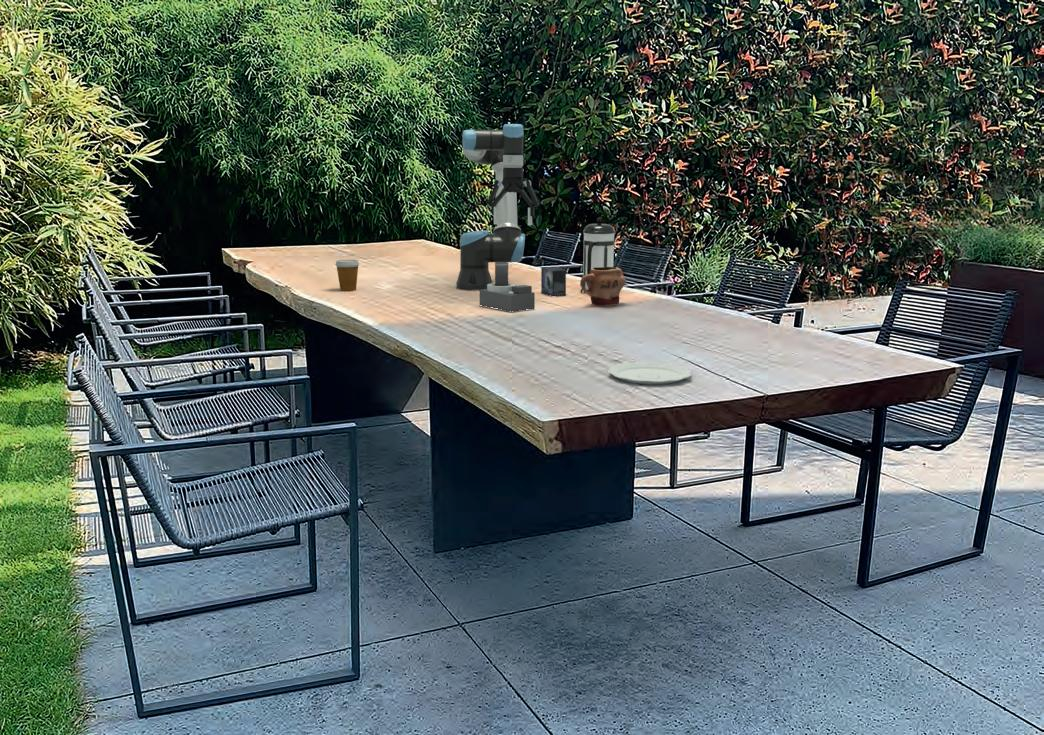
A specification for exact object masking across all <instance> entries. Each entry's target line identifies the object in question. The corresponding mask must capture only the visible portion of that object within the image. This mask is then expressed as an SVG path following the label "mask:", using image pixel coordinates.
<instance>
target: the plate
mask: <svg viewBox="0 0 1044 735" xmlns="http://www.w3.org/2000/svg"><path fill="white" fill-rule="evenodd" d="M607 373H608V374H609V375H612V376H614V377H615V378H618V379H620V380H622V381H625V382H629V383H633V384H640V385H641V384H642V385H665V384H673V383H677V382H679V381H681V380H685V379H688V378H690V377H691V376H692V371H691V369H689V368H686V367H684V366H681V365H678V364H677V365H676V364H670V363H667V362H666V363H665V362H658V361H657V362H655V361H654V362H650V361H635V362H623V363H618V364H616V365H615V364H614V365H611V366H610V367H609V368H608V370H607Z"/></svg>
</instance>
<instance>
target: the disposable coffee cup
mask: <svg viewBox="0 0 1044 735" xmlns="http://www.w3.org/2000/svg"><path fill="white" fill-rule="evenodd" d="M359 266H360V263H359V260H357V259H338V260H336V261H335V267H336V272H337V276H338V283H339V290H340V291H342V292H354V291H355V292H356V291H357V285H358V284H357V283H358V274H359V271H358V270H359Z"/></svg>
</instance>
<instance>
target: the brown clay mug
mask: <svg viewBox="0 0 1044 735" xmlns="http://www.w3.org/2000/svg"><path fill="white" fill-rule="evenodd" d="M586 280H587V287H588V290H587V289H585V288H584V282H585V281H586ZM626 281H627V279H626V278H625V275H624V272H623V270H622V268H619V267H618V266H617V267H614V266H613V267H597V268H592V269H591V270H590V274H587V275H584V276H583V275H582V277H581V279H580V281H579V282H580V284H579V286H580V288H581V289H583V291H582V292H585V293H584V294H586V295H587V296H589V298H590V302H591V304H592V305H593V304H594V306H599V307H606V306H607V307H608V306H617V305H619V304H620V292H621V291H622V289H623V288H624V287H625V285H626Z"/></svg>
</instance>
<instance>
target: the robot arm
mask: <svg viewBox="0 0 1044 735" xmlns="http://www.w3.org/2000/svg"><path fill="white" fill-rule="evenodd" d="M524 134H525V133H524V125H523V124H520V123H507V124H506V123H505V124H504V125H503V126H502V129H465V130H463V131H462V152H463V155H464V156H465V158H466V159H468V160H469V161H470V162H473V163H476V164H479V165H490V166H491V170H492V171H493V172H494V174H495V180H494V185H493V188H492V190H491V193H490V194H489V196H488V199H487V201H486V205H489V207H491V209H490V211H491V216H493V225H496V226H495V227H494V229H493V230H492V233H490V232H489V231H488V230H487V229H486V230H475V231H469V232H468V231H467V232H465V233H464V232H463V234H461V235H460V237H459V238H460V240H459V241H460V243H459V247H460V250H459V251H460V252H459V253H460V256H459V257H460V258H459V260H460V261H459V262H460V269H459V272H458V276H457V280H456V285H455V288H456V289H458V290H465V291H466V290H467V291H479V290H482V289H487V284H491V283H494V282H493V280H492V277H491V276H492V275H491V273H490V269H489V268H490V267H489V263H495V262H507V263H510V264H511V263H519V262H521V261H522V260H523V256H524V250H525V243H526V241H525V240H526V234H525V233H524V232H523V233H522V229H521V228H520V226H519V225H518V205H517V204H518V201H517V200H518V198H517V193H518V194H519V195H520V196H521V197H522V198H523V200H524V201H525V202H526V203H527V205H528V206H529V207H527V226H529V227H530V226H533V217H535V208H536V207H538V206H540V201H539V199H538V197H537V195H536V192H535V191H534V188H533V183H532V181H531V180H524V168H523V166H524ZM524 186H525V188H526V189H527V191H528V194H529V195H528V194H527V193H526V191H525V189H524V188H523V187H524ZM529 196H530V197H529Z"/></svg>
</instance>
